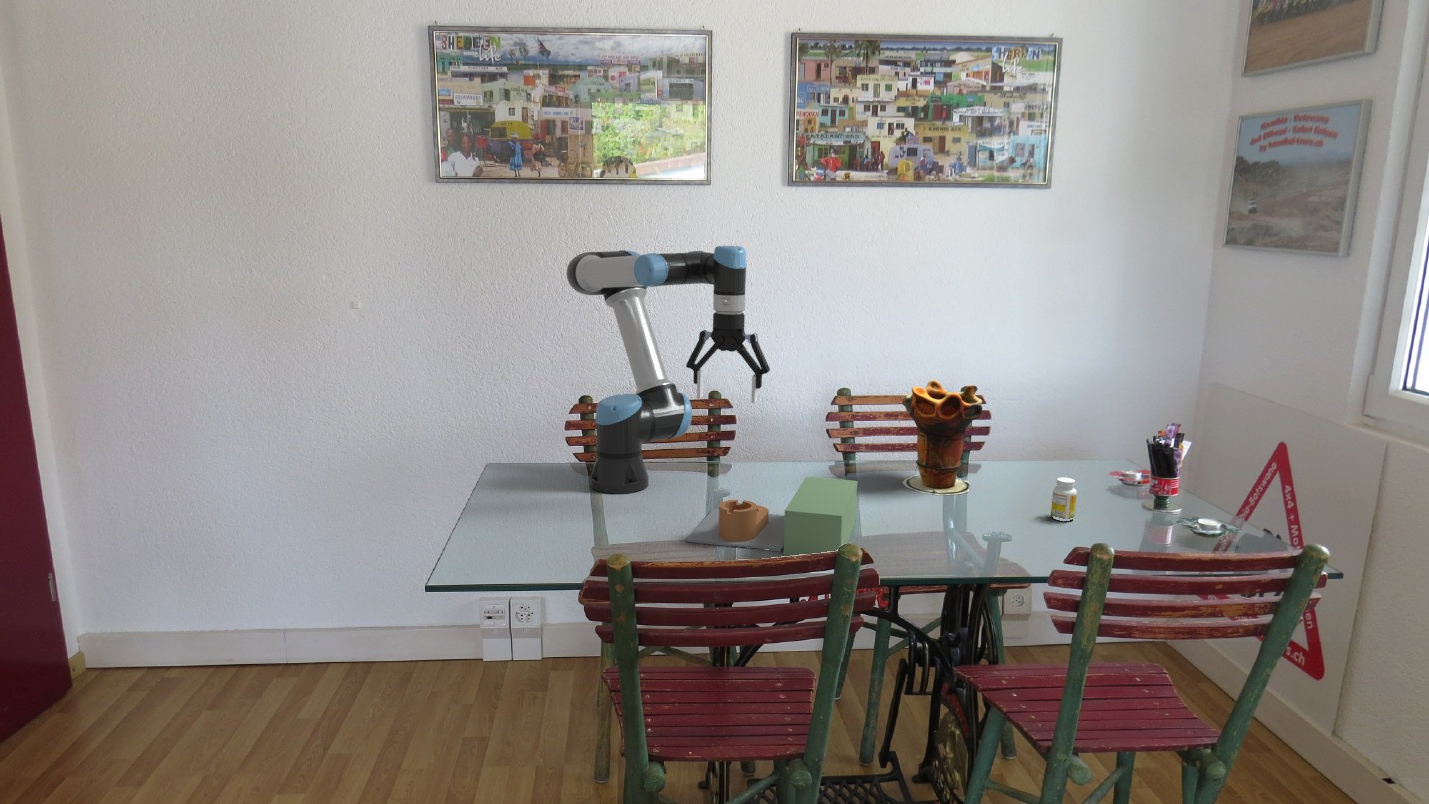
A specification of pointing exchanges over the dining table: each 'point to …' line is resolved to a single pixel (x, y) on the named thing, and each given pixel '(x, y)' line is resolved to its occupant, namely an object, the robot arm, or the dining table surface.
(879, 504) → the dining table surface
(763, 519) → the bracket
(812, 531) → the green cube on tray
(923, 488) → the decorative vase
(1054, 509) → the supplement bottle
